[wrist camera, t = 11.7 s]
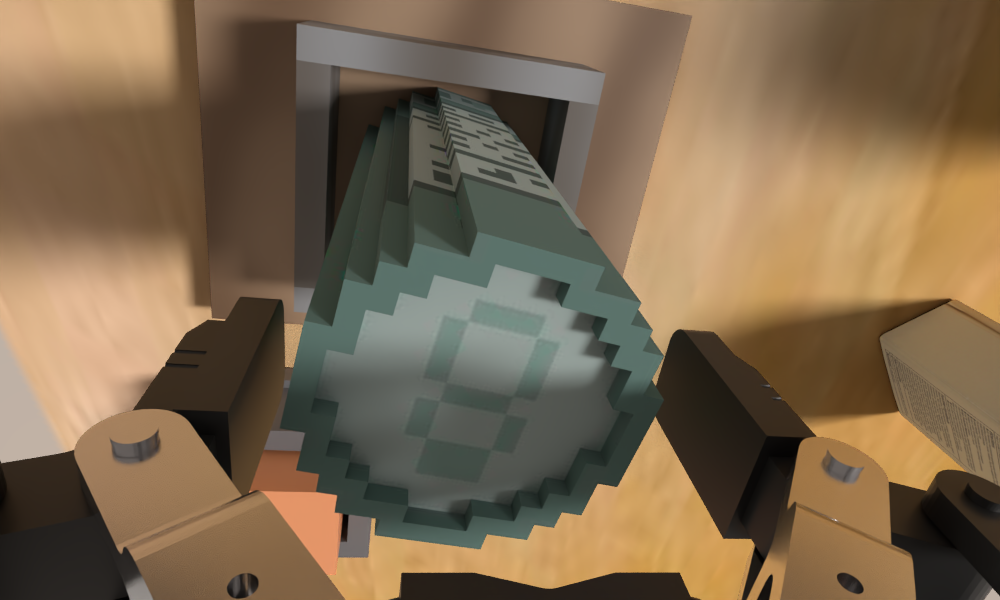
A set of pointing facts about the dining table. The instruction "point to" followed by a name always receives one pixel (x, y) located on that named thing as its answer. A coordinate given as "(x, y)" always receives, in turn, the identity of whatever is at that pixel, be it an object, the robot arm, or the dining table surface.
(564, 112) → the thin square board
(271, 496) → the button
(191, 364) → the robot arm
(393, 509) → the can
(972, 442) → the skincare box
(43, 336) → the dining table surface
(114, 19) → the dining table surface
